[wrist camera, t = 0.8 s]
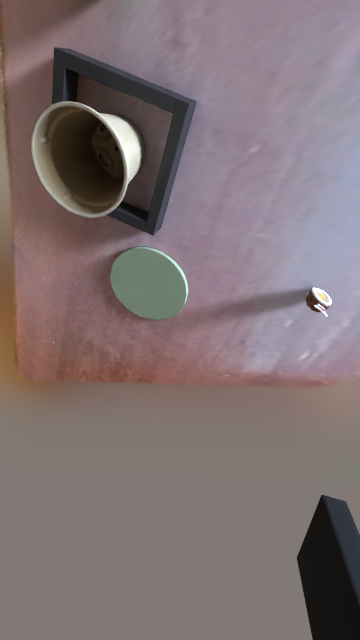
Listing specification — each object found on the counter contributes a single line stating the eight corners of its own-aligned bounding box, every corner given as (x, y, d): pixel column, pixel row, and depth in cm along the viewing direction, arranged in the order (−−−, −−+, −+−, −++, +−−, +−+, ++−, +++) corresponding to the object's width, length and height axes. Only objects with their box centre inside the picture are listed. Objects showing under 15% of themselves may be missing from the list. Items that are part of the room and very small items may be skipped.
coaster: (97, 260, 45) (95, 262, 45) (165, 235, 40) (164, 237, 40) (135, 324, 50) (134, 326, 50) (200, 309, 45) (199, 311, 45)
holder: (60, 184, 41) (48, 189, 39) (69, 48, 32) (53, 47, 30) (160, 227, 40) (153, 235, 38) (196, 101, 31) (189, 103, 29)
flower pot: (177, 135, 34) (145, 150, 27) (137, 209, 40) (103, 237, 33) (98, 73, 32) (45, 73, 26) (69, 159, 38) (20, 177, 32)
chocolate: (299, 292, 40) (298, 311, 36) (313, 280, 38) (314, 298, 35) (318, 307, 40) (319, 327, 37) (333, 296, 38) (335, 315, 35)
